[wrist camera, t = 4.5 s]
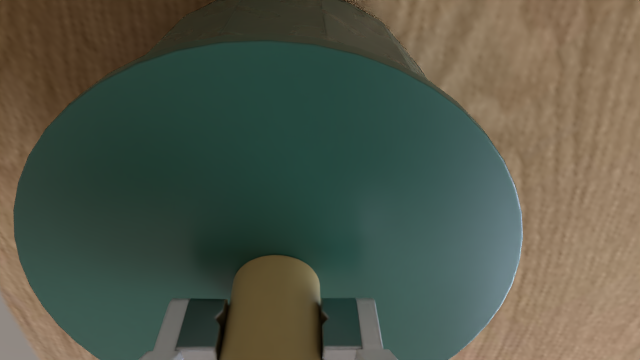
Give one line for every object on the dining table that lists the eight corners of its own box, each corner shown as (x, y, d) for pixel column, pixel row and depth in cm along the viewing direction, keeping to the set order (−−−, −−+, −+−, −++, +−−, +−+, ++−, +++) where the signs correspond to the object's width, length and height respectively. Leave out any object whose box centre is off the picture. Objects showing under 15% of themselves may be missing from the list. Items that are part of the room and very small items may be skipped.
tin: (282, -100, 15) (263, -95, 8) (482, 142, 21) (574, 269, 14) (81, 137, 20) (-40, 270, 13) (288, 278, 26) (282, 423, 19)
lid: (266, -141, 8) (229, -176, 4) (586, 257, 14) (692, 393, 10) (-50, 256, 13) (-196, 405, 9) (284, 418, 19) (278, 548, 16)
